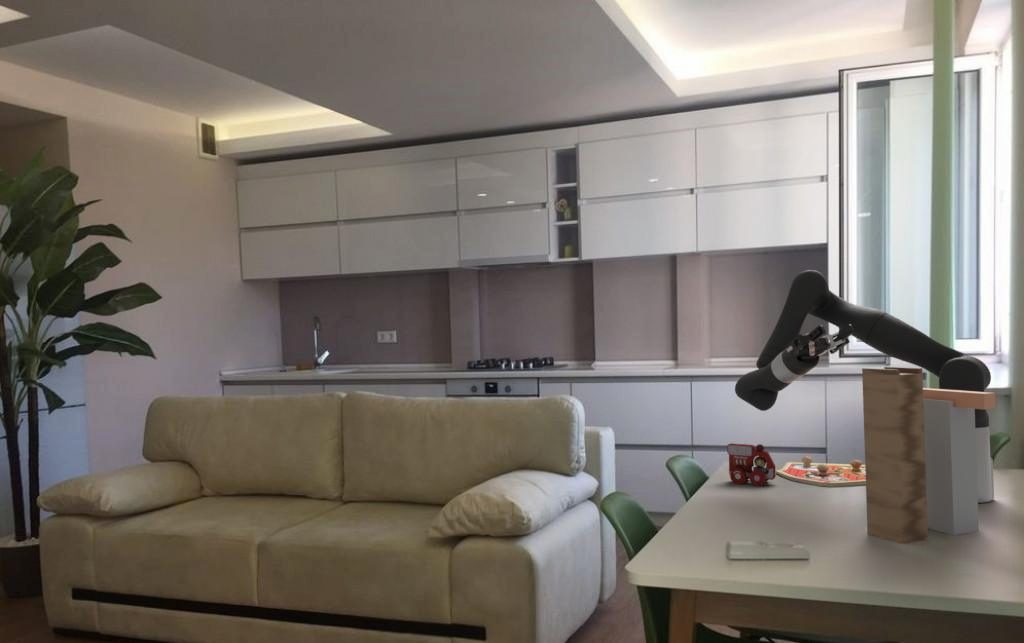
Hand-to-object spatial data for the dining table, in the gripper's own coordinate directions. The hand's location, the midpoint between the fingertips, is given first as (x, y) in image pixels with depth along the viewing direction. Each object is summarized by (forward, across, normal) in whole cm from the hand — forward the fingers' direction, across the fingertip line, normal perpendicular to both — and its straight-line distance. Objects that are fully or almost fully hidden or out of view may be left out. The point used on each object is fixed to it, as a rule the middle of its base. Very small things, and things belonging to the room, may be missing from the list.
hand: (837, 328), depth 175 cm
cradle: (-2, +6, +46) cm, 46 cm away
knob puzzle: (-46, +26, +21) cm, 57 cm away
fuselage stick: (+10, +6, +24) cm, 27 cm away
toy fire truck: (-50, +2, +19) cm, 53 cm away
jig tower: (-2, -8, +46) cm, 47 cm away
